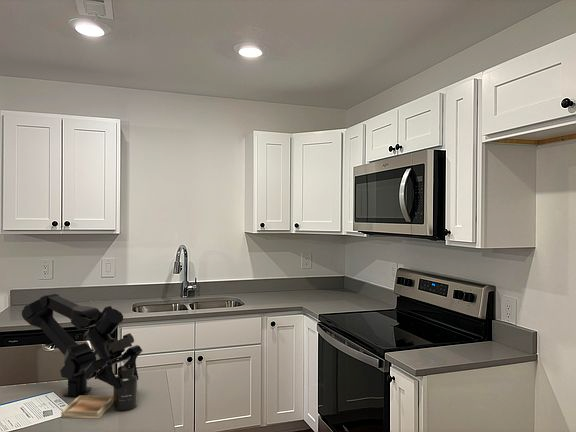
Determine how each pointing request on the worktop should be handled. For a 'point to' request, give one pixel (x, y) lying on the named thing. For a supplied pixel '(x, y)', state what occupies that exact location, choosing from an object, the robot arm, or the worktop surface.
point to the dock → (87, 407)
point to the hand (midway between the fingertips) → (128, 384)
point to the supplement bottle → (125, 389)
